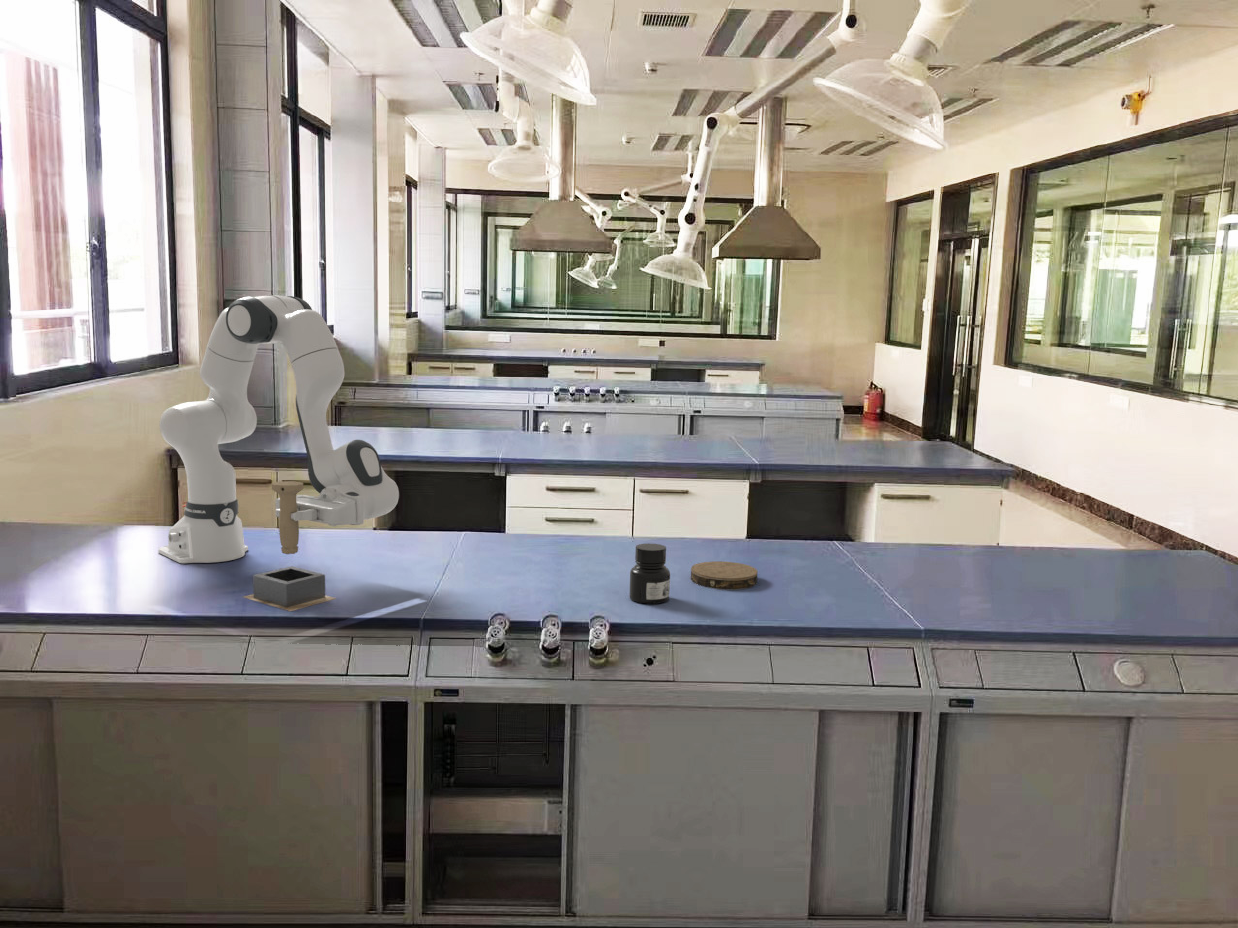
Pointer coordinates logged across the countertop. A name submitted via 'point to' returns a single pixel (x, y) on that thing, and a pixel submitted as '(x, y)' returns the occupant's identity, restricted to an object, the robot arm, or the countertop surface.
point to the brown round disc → (724, 575)
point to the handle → (288, 515)
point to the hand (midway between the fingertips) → (285, 515)
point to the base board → (292, 608)
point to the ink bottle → (650, 575)
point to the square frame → (289, 586)
